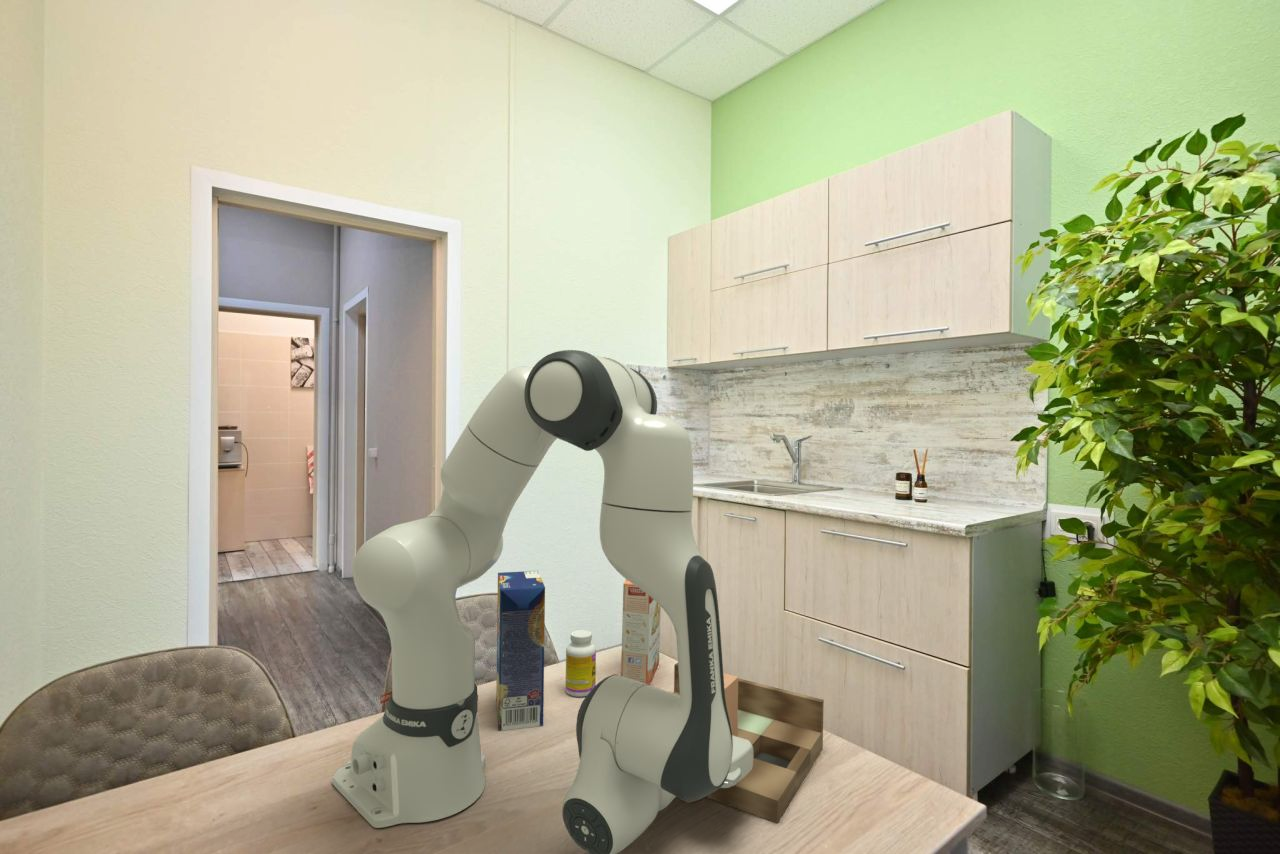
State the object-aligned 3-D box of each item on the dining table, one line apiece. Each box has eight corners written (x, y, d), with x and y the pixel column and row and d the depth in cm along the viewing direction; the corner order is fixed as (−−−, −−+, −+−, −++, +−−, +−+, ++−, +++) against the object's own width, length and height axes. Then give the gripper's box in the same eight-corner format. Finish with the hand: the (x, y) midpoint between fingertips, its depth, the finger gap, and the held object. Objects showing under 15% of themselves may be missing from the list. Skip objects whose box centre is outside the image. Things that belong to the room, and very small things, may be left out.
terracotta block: (685, 746, 94) (686, 681, 94) (702, 729, 99) (703, 668, 99) (721, 758, 91) (722, 691, 91) (737, 740, 96) (738, 676, 96)
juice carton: (543, 726, 106) (545, 587, 105) (498, 731, 104) (500, 590, 103) (536, 695, 117) (537, 570, 117) (496, 699, 115) (497, 572, 115)
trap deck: (609, 760, 95) (609, 709, 95) (676, 705, 114) (677, 662, 114) (777, 823, 81) (778, 763, 81) (822, 748, 100) (823, 699, 100)
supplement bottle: (596, 697, 117) (597, 638, 117) (565, 698, 116) (566, 639, 116) (594, 684, 123) (595, 627, 123) (565, 685, 122) (566, 628, 122)
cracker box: (649, 691, 120) (651, 584, 120) (619, 688, 121) (621, 582, 121) (661, 663, 134) (663, 567, 133) (634, 660, 135) (635, 566, 135)
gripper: (731, 763, 75) (770, 717, 87) (595, 718, 86) (647, 683, 98) (730, 814, 75) (769, 761, 87) (595, 762, 86) (646, 722, 98)
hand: (703, 719), depth 93 cm, fingers closed, pressing on terracotta block
